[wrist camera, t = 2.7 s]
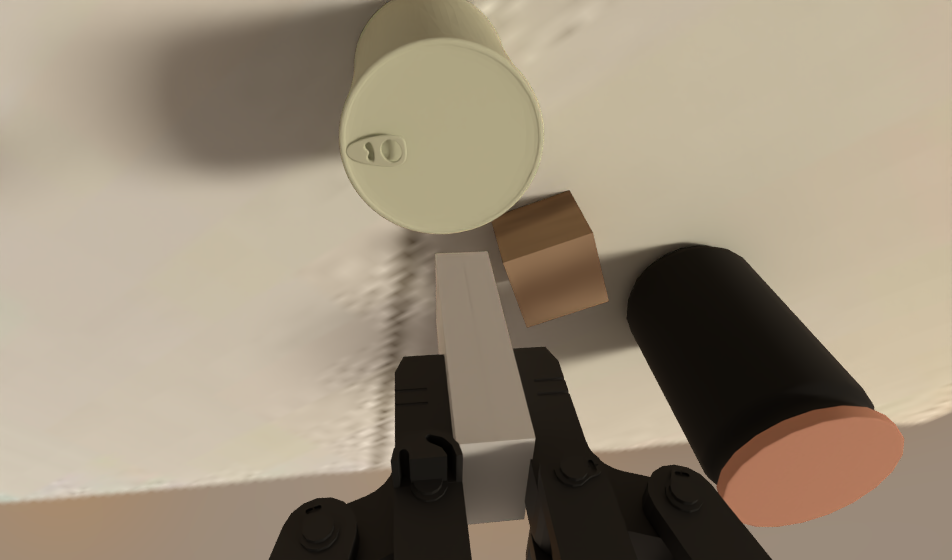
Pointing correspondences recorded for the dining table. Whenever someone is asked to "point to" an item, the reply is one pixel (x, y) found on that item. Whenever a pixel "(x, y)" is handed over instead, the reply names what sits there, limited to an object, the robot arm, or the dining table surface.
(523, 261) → the walnut block
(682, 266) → the coffee jar
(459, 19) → the can
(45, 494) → the dining table surface
